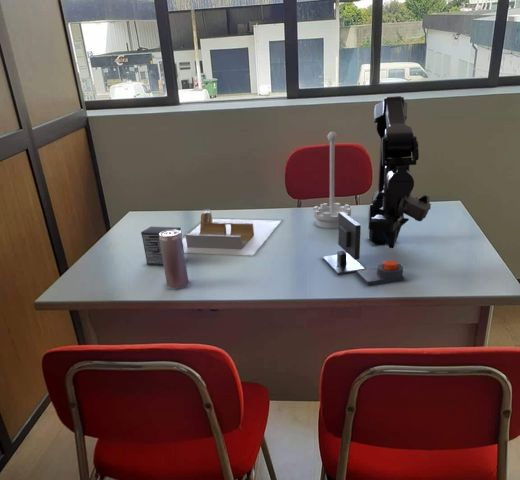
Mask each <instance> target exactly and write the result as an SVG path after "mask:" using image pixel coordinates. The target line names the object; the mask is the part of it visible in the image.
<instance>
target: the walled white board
mask: <svg viewBox="0 0 520 480" xmlns="http://www.w3.org/2000/svg"><path fill="white" fill-rule="evenodd" d="M281 222H282V220H275V219H274V220H273V219H272V220H271V219H269V220H268V219H267V220H266V219H236V218H235V219H233V218H232V219H230V218H229V219H228V218H224V219H223V218H213V217H212V210H211V209H209V208H207V209H205V208H204V209H202V213H201V215H200V224H199V225H197V226H196V227H195V228H194V229H192V230H191V231H190V232H188V231H187V230H186V231H185V233H184V234H185V236H184V237H182V241H183V247H184V254H185V253H188V254H208V255H209V254H210V255H211V254H213V255H229V256H230V255H231V256H233V255H234V256H254V255H255V253H257V251H258V250H259V249H260V247H262V245H263V244H264V242H266V240H267V239H268V238H269V237H270V235H271V234H272V233H273V232H274V230H275V229H276V228H277V227H278V226H279V225H280V223H281Z"/></svg>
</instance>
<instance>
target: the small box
mask: <svg viewBox="0 0 520 480" xmlns="http://www.w3.org/2000/svg"><path fill="white" fill-rule="evenodd" d="M172 229H174V230H179V231H180V232H181V235H182V229H181V227H178V226H177V227H173V226H150V227H148V228H146V229H144V230H142V231H141V232H140V234H141V238H142V244H143V249H144V255H145V261H146V265H147V266H154V267H164V264H163V258H162V252H161V246H160V241H159V233H160V232H162V231H165V230H172Z"/></svg>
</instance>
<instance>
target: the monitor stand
mask: <svg viewBox="0 0 520 480" xmlns="http://www.w3.org/2000/svg"><path fill="white" fill-rule="evenodd" d="M322 260H323V261H324V262H325V263H326V265H328V267H329V268H330V269H331V270H332V271H333V272H334V273H335V274H336V275H337V276H341V275H350V274H355V273H357V271H359V270H366V268H365V267H364V266H363V265H362V264H361V263H360V262H359V261H358V260H354V259H353V258H352V257H351V256H350V255H349V254H348V253H347V252H346V251H345V250H338V251H337V252H336V254H333V255H326V256H322Z"/></svg>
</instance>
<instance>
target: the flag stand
mask: <svg viewBox="0 0 520 480" xmlns="http://www.w3.org/2000/svg"><path fill="white" fill-rule="evenodd" d="M337 137H338V135H337V133H336V132H335V131H330V132H328V134H327V140H328V141H329V205H328V203H326V202H325V203H320V204H319V206H318V205H315V206H314V207H313V208H312V216H313V217H314V218H315V225H316V226H317V227H320V228H324V229H339V213H341V212H344V213H345V214H347V215H348V216H349V217H351V216H352V207H351V205H350V204H347V203H345V204H344V205H343V206H342V205H341V204H342V203H341V202H335V150H336V149H335V146H336V145H335V141H336V140H337Z"/></svg>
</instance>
